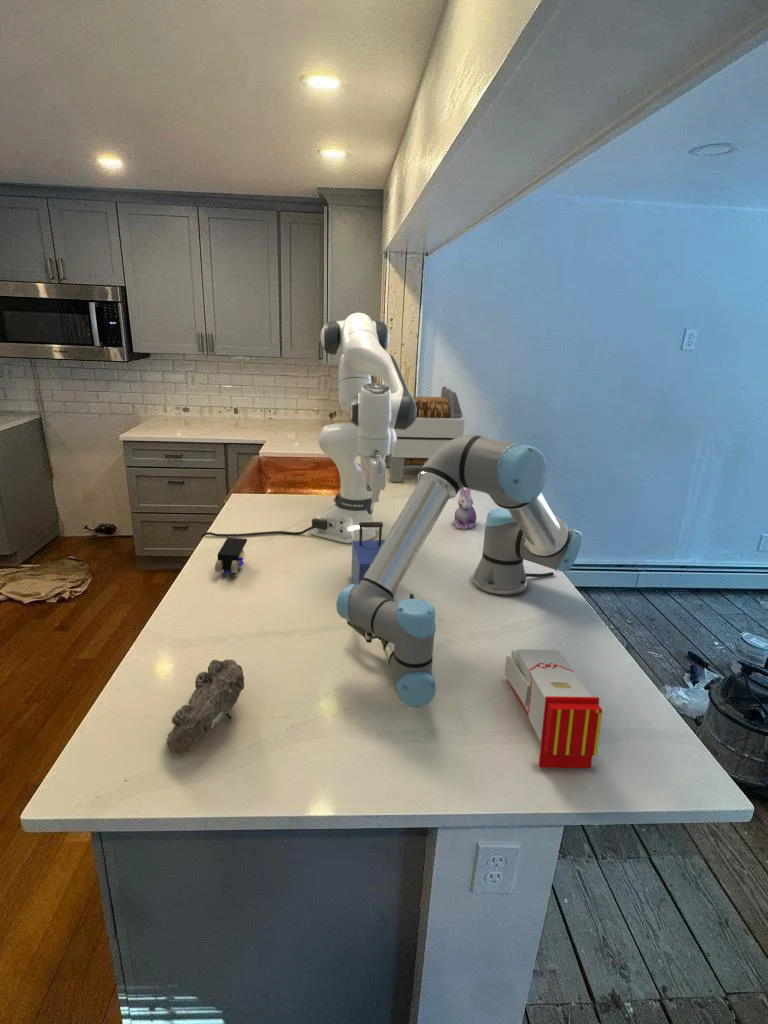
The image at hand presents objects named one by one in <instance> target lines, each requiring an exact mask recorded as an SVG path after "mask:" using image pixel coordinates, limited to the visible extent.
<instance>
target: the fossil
mask: <svg viewBox="0 0 768 1024" xmlns="http://www.w3.org/2000/svg"><path fill="white" fill-rule="evenodd" d="M243 670H244V669H243V667H242V665H240V664H237V662H236V661H235V660H234V659H232V658H231V659H227V658H226V659H224V660H223V661H222V660H217V659H212V660H211V661H210V663H209V665H208V666H207V671H201V672H199V673H198V674H197V675H196V676H195V680H194V684H195V685H194V687H195V689H194V690H193V693H192V694H191V697H190V698H189V700H188V704H184V705H182V706H181V707H180V709H177V710H176V711H175V713H174V715H173V716H172V718H171V723H172V724H173V727H172V730H171V731H170V732H168V734H167V738H166V741H167V742H166V745H167V749H168V750H169V751H173V752H174V753H176V754H178V753H182V752H188V751H189V752H192V751H193V750H195V748H196V747H197V746H199V744H200V743H201V742H203V741H204V740H205V739H206V738H207V737H208V736H209V735H210V734H211V733H212V732H214V730H215V729H217V727H218V726H219V724H220V722H221V721H222V720H223V719H224V718H225V716H226V717H227V719H229V720H233V717H232V715H230V714H229V710H230V709H231V708H234V706H235V704H236V703H237V702H238V699H239V697H240V695H241V693H242V691H243V690H245V689H244V688H245V675H244V671H243Z"/></svg>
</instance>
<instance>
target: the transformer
mask: <svg viewBox="0 0 768 1024" xmlns="http://www.w3.org/2000/svg"><path fill="white" fill-rule="evenodd" d="M440 393H441V394H440V396H415V395H414V396H413V395H412V397H413V399H414V401H415V404H416V409H417V414H416V420H415V422H414V423H413V424H412V425H411V426H410V427H408V428H407V429H405V430H402V429H394V428H393V429H394V431H395V433H396V437H397V442H396V446H395V448H394V450H393V451H392V452H391V453H390V454H389V455H387V456H385V460H384V461H385V465H386V467H388V468H389V475H388V476H389V477H388V478H389V480H390V482H391V483H402V482H403V475H404V469H405V466H406V467H407V466H411V467H412V466H413V467H415V466H416V467H417V466H418V467H423V466H424V464H425V463H426V462H427V460H428V459H429V458H430V457H431V456H432V455H433V454H434V453H435V452H436V451H437V450H438V449H439V448H440V447H442V446H443V445H445V444H446V443H448V442H449V441H451V440H453V439H455V438H458V437H461V436H464V431H465V430H464V429H465V419H464V418H463V411H462V408H461V405H460V402H459V398H458V395H457V392H455V391H453V390H452V389H451V388H447V386H442V387H441V392H440Z"/></svg>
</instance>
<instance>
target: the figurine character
mask: <svg viewBox="0 0 768 1024" xmlns="http://www.w3.org/2000/svg"><path fill="white" fill-rule="evenodd" d="M247 542H248V538H240V537H226V539H225V541H224V543H223V544H222V546H221V547H220V549H219V551H218V552H217V560H216V562H215V564H214V572H215V573H221V577H222V578H224V577H225V576H226V574H227V573H230V574H231V573H232V574H231V578H234V577H235V575H236V573H237V572H239V571H240V567H242V566H243V565H244V564H245V562H244V558H245V551H244V547H245V546H246V544H247Z"/></svg>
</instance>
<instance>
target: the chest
mask: <svg viewBox="0 0 768 1024" xmlns="http://www.w3.org/2000/svg"><path fill="white" fill-rule="evenodd" d="M368 568H369V567H359V565H358V561H357V558H356V555H355V552H354V549H353V546H352V545H351V576H350V577H351V582H352V584H355V585H359V583H360V582H361V580H362V578H363V577H364V575H365V574H366V572H367V570H368ZM392 601H394V598H393V599H392Z"/></svg>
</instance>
